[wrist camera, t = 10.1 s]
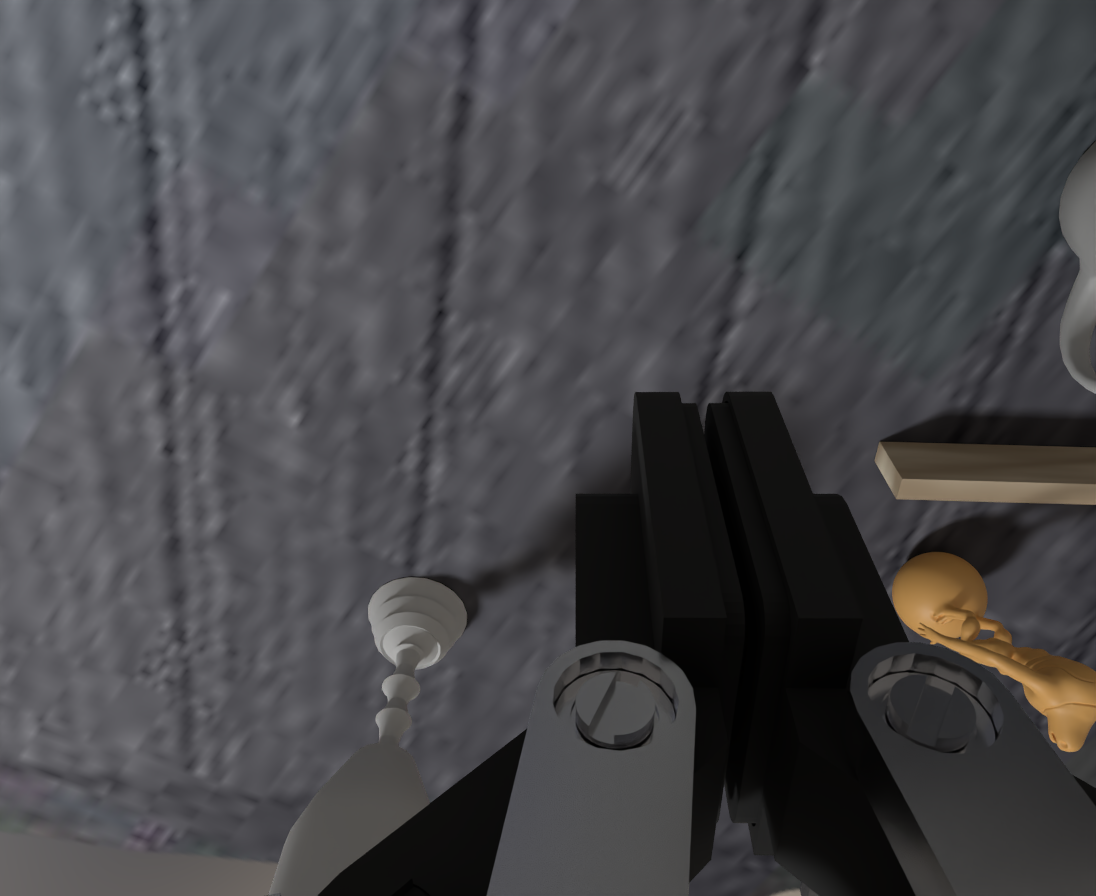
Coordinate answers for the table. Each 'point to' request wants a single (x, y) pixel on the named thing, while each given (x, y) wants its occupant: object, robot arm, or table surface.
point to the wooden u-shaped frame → (989, 472)
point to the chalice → (382, 768)
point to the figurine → (993, 642)
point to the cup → (1092, 233)
